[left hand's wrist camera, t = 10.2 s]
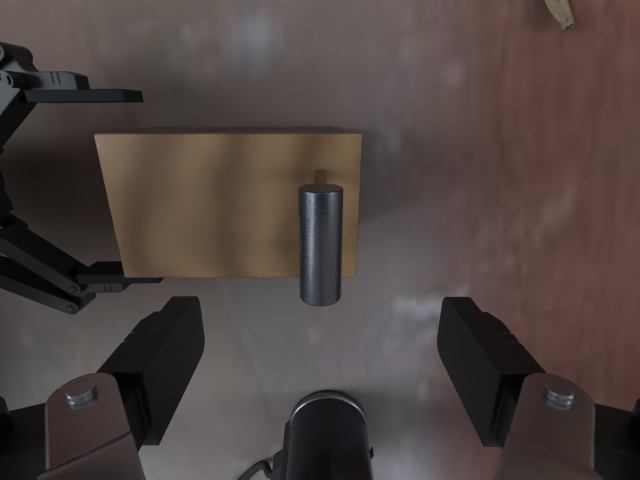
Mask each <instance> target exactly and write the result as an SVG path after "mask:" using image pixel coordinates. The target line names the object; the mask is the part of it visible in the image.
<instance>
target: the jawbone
mask: <svg viewBox="0 0 640 480" xmlns="http://www.w3.org/2000/svg"><path fill="white" fill-rule="evenodd" d="M545 2H546V4H547V7H548V8H549V10H550V12H551V13H552V15H553V17H554V19H555V21H556V23H557V24H558V27H559V28H560V31H562V30H565V29H567V28H568V27H569V26H571V27H570V28H574V27H575V23H574V18H573V15H572V12H571V9H570V6H569V2H568V0H545Z"/></svg>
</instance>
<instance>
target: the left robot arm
mask: <svg viewBox="0 0 640 480" xmlns="http://www.w3.org/2000/svg"><path fill="white" fill-rule="evenodd" d="M204 343H205V338H204V330H203V323H202V315H201V308H200V302H199V299H198V297H196V296H173V297H171V298H170V300H169V301H168V302H167V303H166V305H165V306H164V307H163V308H162V310H161V311H160V312H153V313H152V314H150V315H149V316H147V317H146V318H144V319H142V320H141V321H140V322H139V323H138V324H137V325H136V327H135V328H134V329H133V330H132V331H131V334H129V335H128V336H127V337H126V338H125V339H124V342H123V343H121V344H120V345H119V346H118V348H117V349H116V350H115V351H114V352H113V353H112V355H111V356H110V357H109V358H108V359H107V360H106V362H105V363H104V364H103V365H102V366H101V367H100V369H99V370H98V371H97V372H96V373H92V374H88V375H84V376H81V377H78V378H76V379H73V380H71V381H69V382H67V383H66V384H64V385H63V386H61V387H60V388H58V389H57V390H56V391H55V392H54V393H53V394H52V395H51V396H50V397H49V399H48V400H47V402H46V403H43V404H38V405H34V406H30V407H25V408H21V409H16V410H12V411H9V410H8V407H7V405H6V402H5V400H4V399H3V398H2V397H1V396H0V480H146V479H145V476H144V472H143V469H142V465H141V462H140V458H139V455H138V452H139V450H140V448H141V446H142V445H159V444H160V442H161V440H162V438H163V435H164V433H165V431H166V429H167V427H168V425H169V423H170V421H171V419H172V417H173V415H174V413H175V411H176V409H177V406H178V404H179V402H180V400H181V398H182V396H183V394H184V392H185V390H186V388H187V386H188V384H189V382H190V380H191V378H192V375H193V373H194V371H195V369H196V367H197V365H198V363H199V361H200V359H201V357H202V354H203V350H204ZM437 346H438V352H439V355H440V358H441V360H442V362H443V364H444V366H445V368H446V370H447V372H448V374H449V376H450V378H451V380H452V382H453V385H454V387H455V389H456V391H457V393H458V395H459V397H460V399H461V401H462V403H463V405H464V407H465V409H466V411H467V413H468V415H469V417H470V419H471V421H472V423H473V425H474V427H475V429H476V432H477V434H478V436H479V438H480V440H481V442H482V444H483V446H484V447H501V448H502V450H503V451H502V455H501V458H500V462H499V465H498V469H497V472H496V476H495V479H494V480H640V398H639V399H638V400H637V402H636V404H635V407H634V409H633V412H630V411H626V410H621V409H617V408H612V407H608V406H603V405H599V404H595V403H594V402H593V400H592V399H591V397H590V396H589V395H588V394H587V393H586V392H585V391H584V390H583V389H582V388H580V387H579V386H577V385H576V384H574V383H573V382H571V381H569V380H567V379H564V378H562V377H559V376H556V375H552V374H548V373H546V372H545V371H544V370H543V369H542V367H541V366H540V365H539V364H538V363H537V362H536V360H535V359H534V358H533V357H532V356H531V355H530V354H529V352H528V351H527V350H526V349H525V348H524V347H523V345H522V344H519V341H518V340H517V338H516V337H515V336H514V335H513V334H511V332H510V330H509V329H508V328H507V327H506V326H505V325H504V323H503V322H502V321H500V320H499V319H497V318H496V317H494V316H492V315H491V314H489V313H488V312H482V311H481V310H480V309H479V308H478V306H477V305H476V304H475V303H474V301H473V300H472V299H471V298H470V297H445V298H444V299H443V302H442V307H441V315H440V322H439V329H438V336H437ZM366 428H367V424H366V417H365V413H364V410H363V408H362V406H361V405H360V404H359V403H358V402H357V401H356V400H355V399H353V398H352V397H350V396H348V395H346V394H343V393H340V392H334V391H323V392H317V393H314V394H311V395H309V396H307V397H305V398H303V399H302V400H301V401H299V402H298V403H297V405H296V406H295V407H294V409H293V411H292V414H291V420H290V421H288V422H287V423H286V424H285V433H284V442H283V449H282V450H280V451H279V452H277V453H276V454H274V461H273V468H272V470H271V467H270V465H269V463H268V462H266V461H261V462H258V463H256V464H254V465H253V466H252V467H250V468H249V469H248V470H247V471H246V472H245V473H244V474H243V475H242V476H241V477H240V478H239V479H238V480H248V479H249V478H250V477H251V476H252V475H253V474H255V473H256V472H257V471H259V470H262V469H263V470H264V473H265V476H266V477H267V478H269V479H271V480H374V477H373V471H372V464H371V459H372V457H373V456H374V454H373V447H372V448H371V449H370V450H369V443H368V437H367V430H366Z"/></svg>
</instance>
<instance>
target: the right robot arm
mask: <svg viewBox="0 0 640 480" xmlns="http://www.w3.org/2000/svg"><path fill="white" fill-rule="evenodd" d="M32 62H33V56H32V54H31V52H30V51H29V50H28V49H27V48H25V47H21V46H17V45H12V44H7V43H3V42H0V155H1V154H2V152H3V151H4V149H3V148H2V146H3V145H4V144H5V143H6V141H7V140H8V139H9V138H10V136H11V135H12V134H13V133H14V132H15V130H16V129H17V128H18V127H19V125H20V124H21V123H22V122H23V120H24V119H25V118H26V117H27V116H28V114H29V113H30V112H31V111H32V109H33V108H34V107H35V106H36V104H37V103H115V102H143V96H142V91H136V90H127V89H90V87H89V82H88V78H87V76H85V75H82V74H79V73H73V72H67V71H58V72H57V71H54V72H40V71H38V70H37V69H36V68H35V66H34V65H33V63H32ZM12 209H13V207H12V204H11V201H10V199H9V197H8V195H7V194H6V192H5V190H4V179H3V176H2V173H1V171H0V226H2V227H3V228H1V229H0V252H1V253H3V254H5V255H6V256H8V257H10V258H8V257H2V256H0V288H1V289H4V290H7V291H9V292H12V293H15V294H17V295H20V296H23V297H25V298H28V299H31V300H33V301H36V302H39V303H41V304H44V305H47V306H50V307H52V308H55V309H58V310H60V311H63V312H66V313H68V314H72V315H73V314H76V313H78V312H79V311H80V310H81V309H82V308H84V307H85V306H86V305H87V304H88V303H90V302H91V301H92V300H93V299H94V298H95V297H96V294H95V293H100V292H121V291H123V290H125V289H126V288H127V287H128V286H129V285H130V284H131V283H160V282H161V281H162V279H163V278H164V277H125V275H124V271H123V266H122V261H111V262H95V263H94V264H92V265H91V266H89V267H87V266H86V265H84V264H82V263H81V262H79V261H78V260H76V259H74V258H73V257H71V256H70V255H68V254H67V253H65V252H63V251H62V250H60V249H59V248H57V247H56V246H54V245H52V244H51V243H49V242H48V241H46V240H44V239H43V238H41V237H40V236H38V235H37V234H35V233H33V232H32V231H30V230H29V229H28V224H27V223H25V222H24V221H22V220H21V219H19V218H17V217H16V216H14V215H13V214H11V213H10V210H12ZM0 255H1V254H0Z"/></svg>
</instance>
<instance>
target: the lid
mask: <svg viewBox="0 0 640 480" xmlns="http://www.w3.org/2000/svg"><path fill="white" fill-rule="evenodd" d="M94 137H95V142H96V146H97V151H98V156H99V160H100V165H101V169H102V174H103V179H104V183H105V188H106V192H107V197H108V202H109V206H110V211H111V215H112V220H113V225H114V229H115V234H116V238H117V243H118V248H119V252H120V257H121V261H122V266H123V271H124V275H125V277H300V297H301V299H302V300H303V301H304V302H305V303H307V304H310V305H313V306H328V305H332V304H334V303H336V302H337V301H339V299H340V298H341V277H356V268H357V243H358V218H359V193H360V169H361V144H362V134H360V133H97V134H94Z"/></svg>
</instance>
